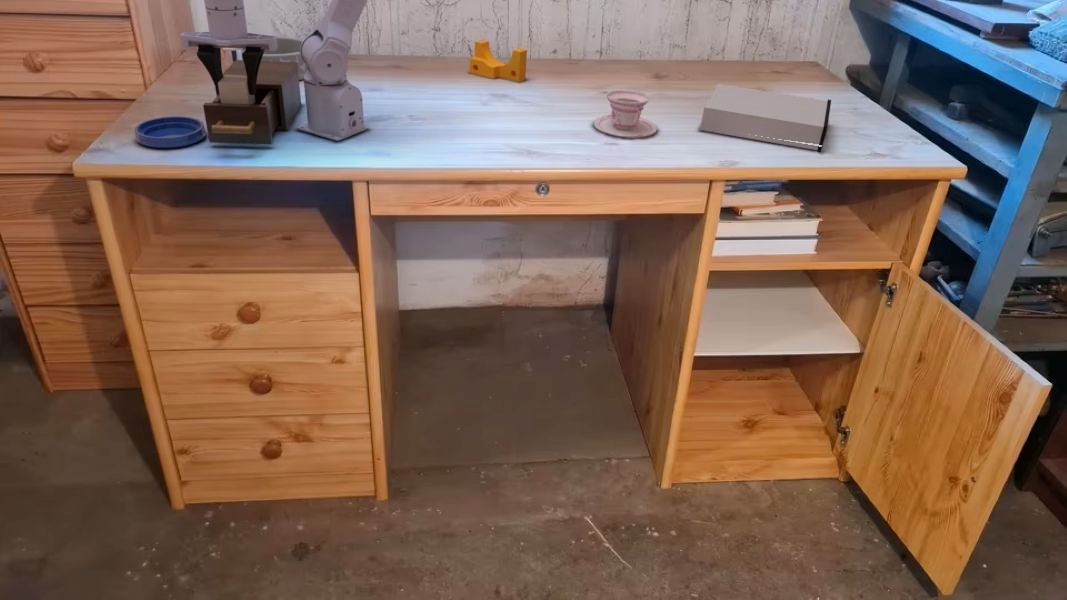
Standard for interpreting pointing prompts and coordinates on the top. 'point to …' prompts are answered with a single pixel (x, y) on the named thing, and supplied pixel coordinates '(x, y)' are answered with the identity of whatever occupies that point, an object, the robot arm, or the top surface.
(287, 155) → the top surface
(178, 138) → the blue saucer
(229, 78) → the block
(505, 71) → the pipe clamp
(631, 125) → the teacup
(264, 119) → the drawer
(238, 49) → the milkshake
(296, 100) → the cabinet
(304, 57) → the robot arm
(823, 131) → the disc drive
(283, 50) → the dog bowl
